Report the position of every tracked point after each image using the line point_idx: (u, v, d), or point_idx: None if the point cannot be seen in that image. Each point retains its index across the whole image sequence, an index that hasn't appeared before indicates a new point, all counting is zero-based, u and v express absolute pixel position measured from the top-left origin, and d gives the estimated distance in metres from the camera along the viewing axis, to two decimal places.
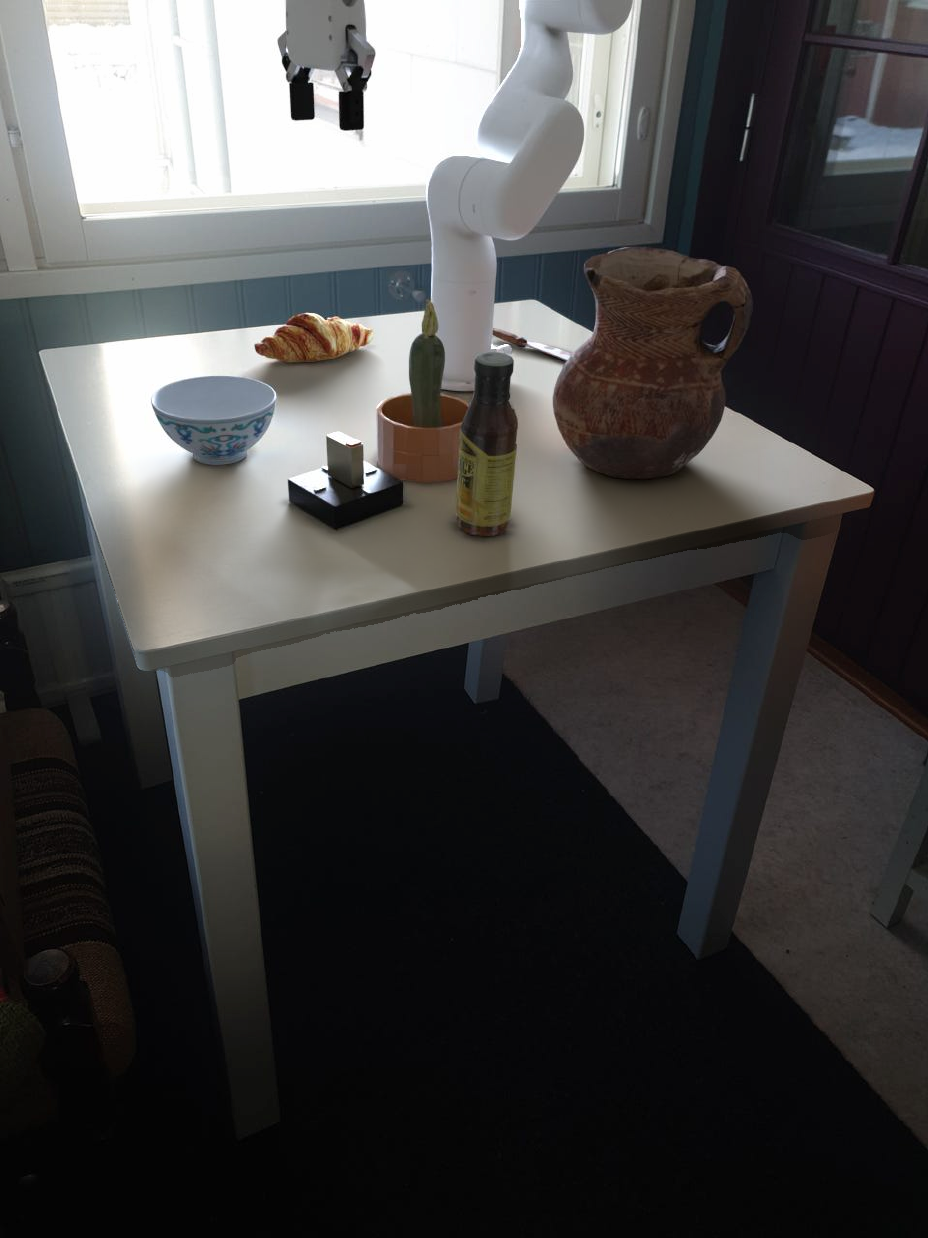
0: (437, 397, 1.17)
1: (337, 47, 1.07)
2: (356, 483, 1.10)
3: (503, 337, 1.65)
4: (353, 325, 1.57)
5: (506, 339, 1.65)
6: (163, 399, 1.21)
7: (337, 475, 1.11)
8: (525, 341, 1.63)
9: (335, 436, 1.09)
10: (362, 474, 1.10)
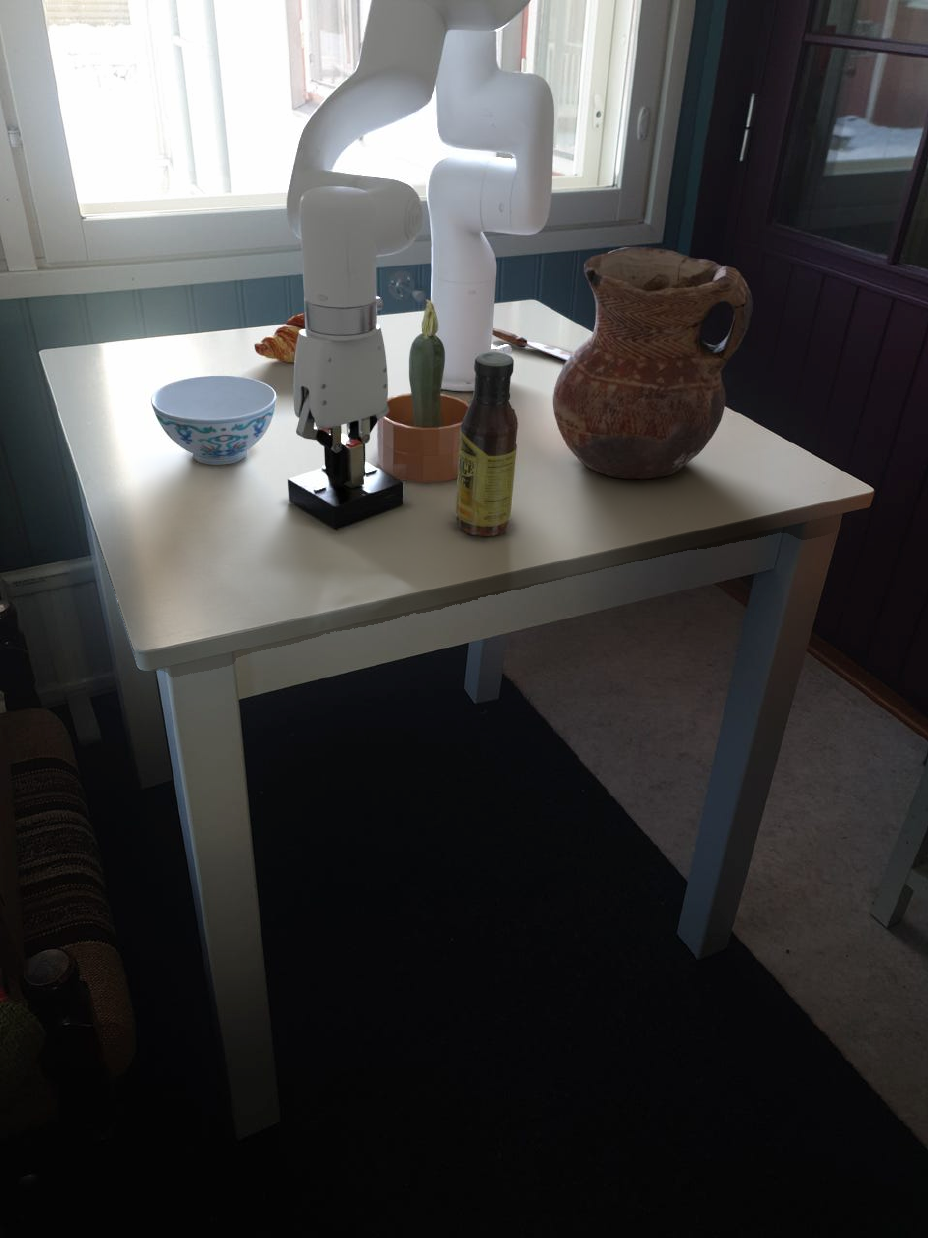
0: (437, 397, 1.17)
1: (387, 392, 1.08)
2: (356, 483, 1.10)
3: (503, 337, 1.65)
4: None
5: (506, 339, 1.65)
6: (163, 399, 1.21)
7: None
8: (525, 341, 1.63)
9: None
10: (362, 474, 1.10)
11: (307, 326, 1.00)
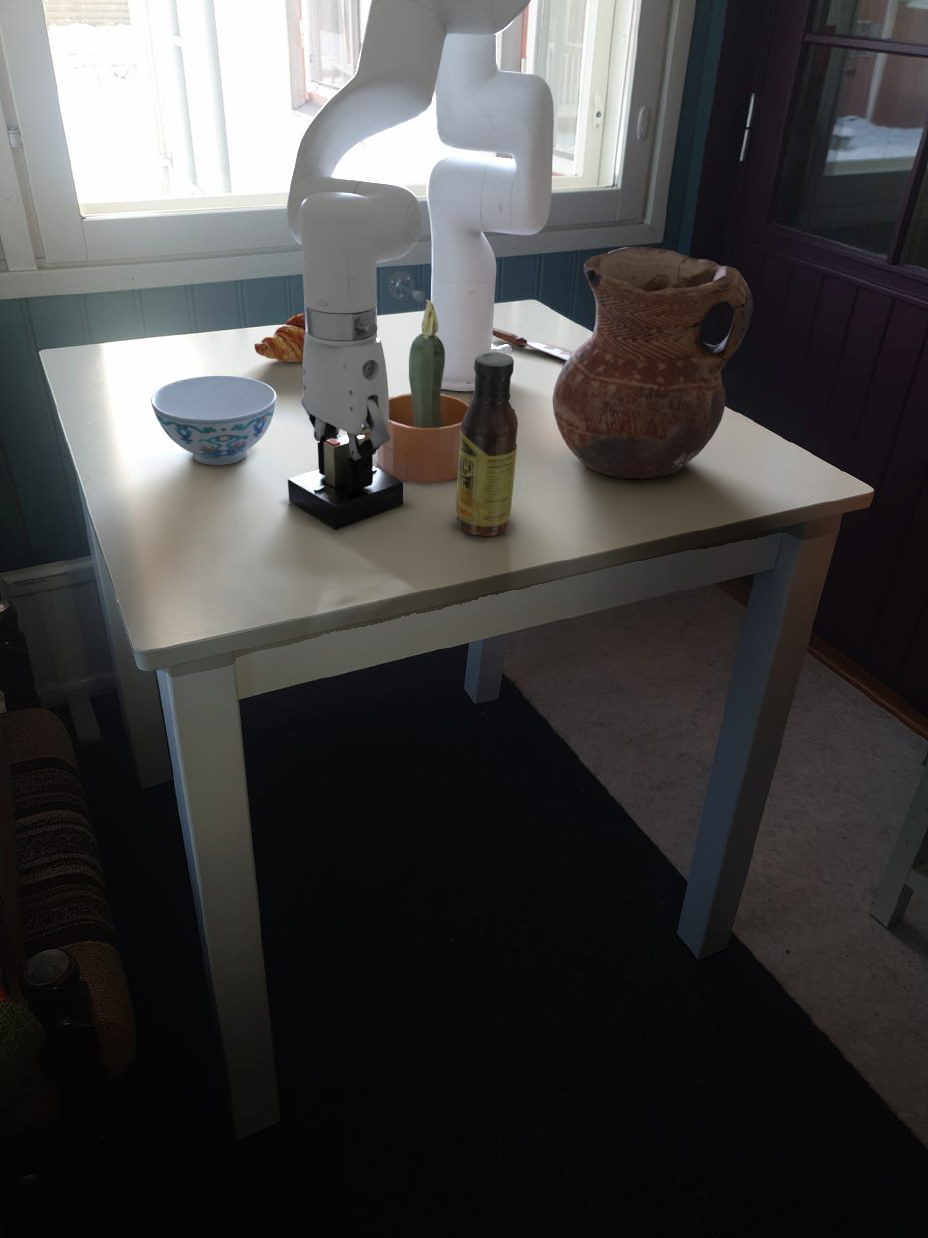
0: (437, 397, 1.17)
1: (358, 419, 1.02)
2: (328, 480, 1.10)
3: (503, 337, 1.65)
4: None
5: (506, 339, 1.65)
6: (163, 399, 1.21)
7: None
8: (525, 341, 1.63)
9: None
10: (333, 476, 1.09)
11: None
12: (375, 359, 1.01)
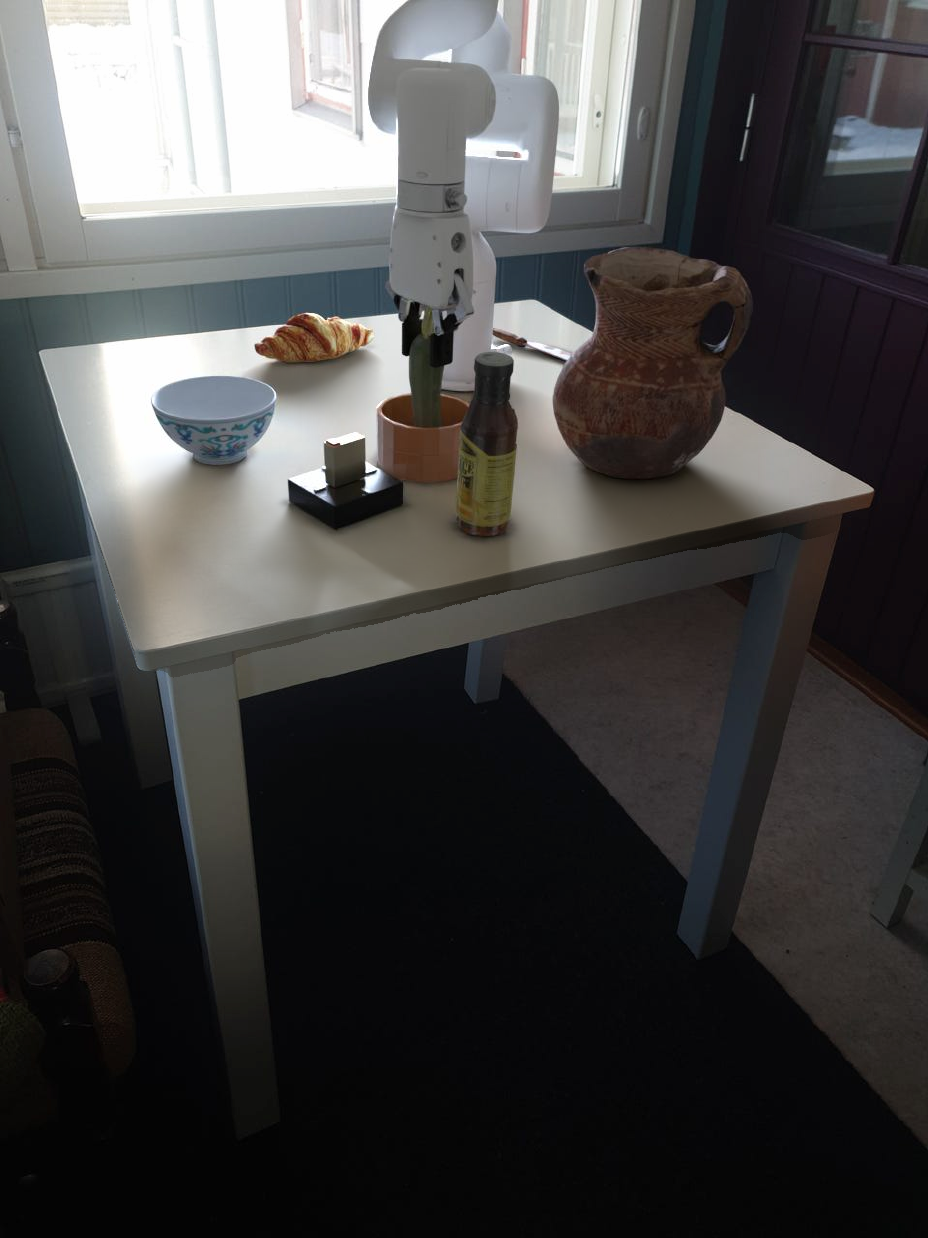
0: (437, 397, 1.17)
1: (445, 291, 1.07)
2: (328, 480, 1.10)
3: (503, 337, 1.65)
4: (353, 325, 1.57)
5: (506, 339, 1.65)
6: (163, 399, 1.21)
7: None
8: (525, 341, 1.63)
9: (351, 435, 1.10)
10: (333, 476, 1.09)
11: None
12: (463, 232, 1.05)
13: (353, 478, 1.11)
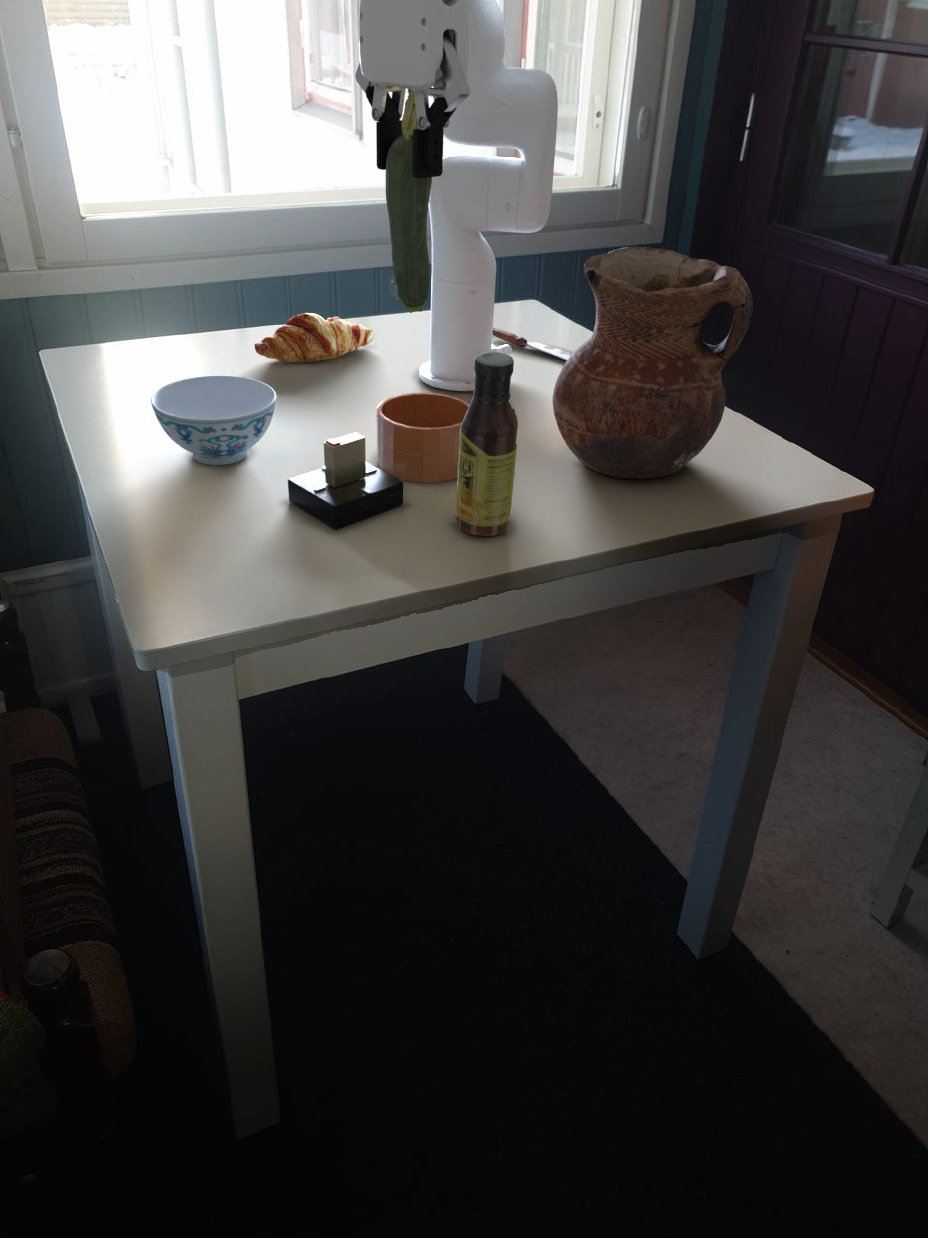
0: (422, 223, 0.91)
1: (431, 60, 0.80)
2: (328, 480, 1.10)
3: (503, 337, 1.65)
4: (353, 325, 1.57)
5: (506, 339, 1.65)
6: (163, 399, 1.21)
7: None
8: (525, 341, 1.63)
9: (351, 435, 1.10)
10: (333, 476, 1.09)
11: None
12: None
13: (353, 478, 1.11)
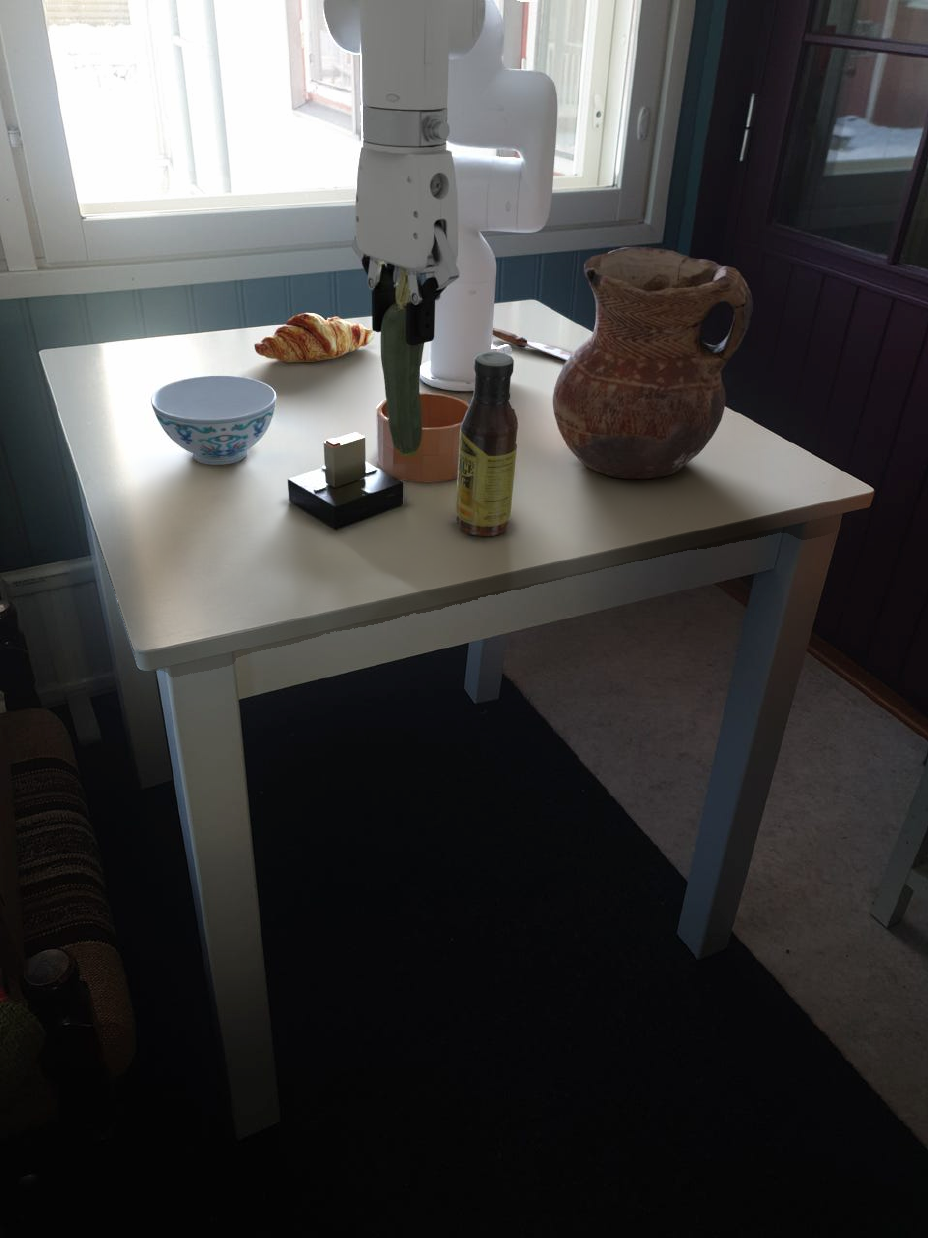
0: (415, 382, 0.96)
1: (423, 248, 0.86)
2: (328, 480, 1.10)
3: (503, 337, 1.65)
4: (353, 325, 1.57)
5: (506, 339, 1.65)
6: (163, 399, 1.21)
7: None
8: (525, 341, 1.63)
9: (351, 435, 1.10)
10: (333, 476, 1.09)
11: None
12: (445, 173, 0.84)
13: (353, 478, 1.11)
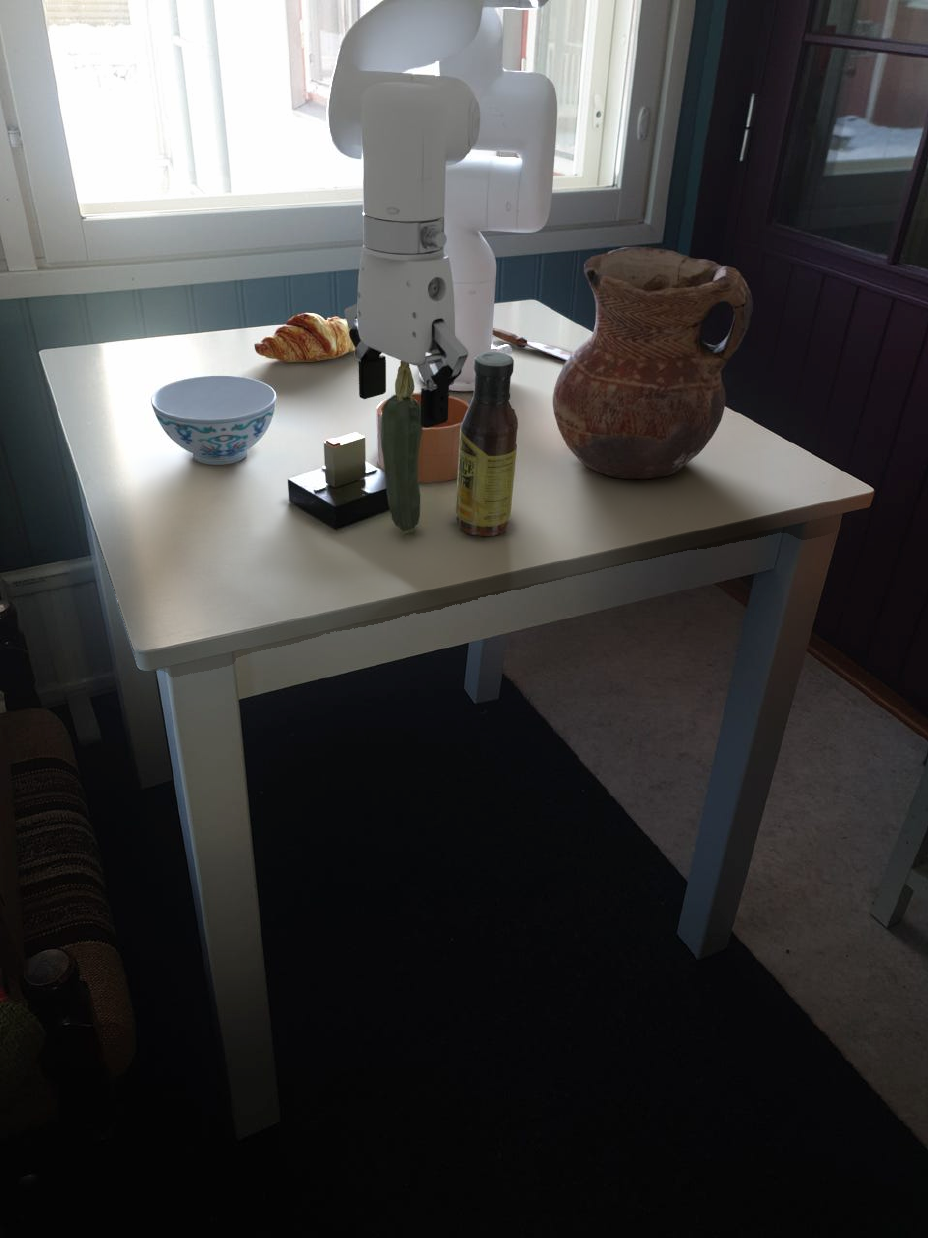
0: (414, 467, 1.01)
1: (421, 345, 0.91)
2: (328, 480, 1.10)
3: (503, 337, 1.65)
4: None
5: (506, 339, 1.65)
6: (163, 399, 1.21)
7: None
8: (525, 341, 1.63)
9: (351, 435, 1.10)
10: (333, 476, 1.09)
11: None
12: (442, 277, 0.89)
13: (353, 478, 1.11)
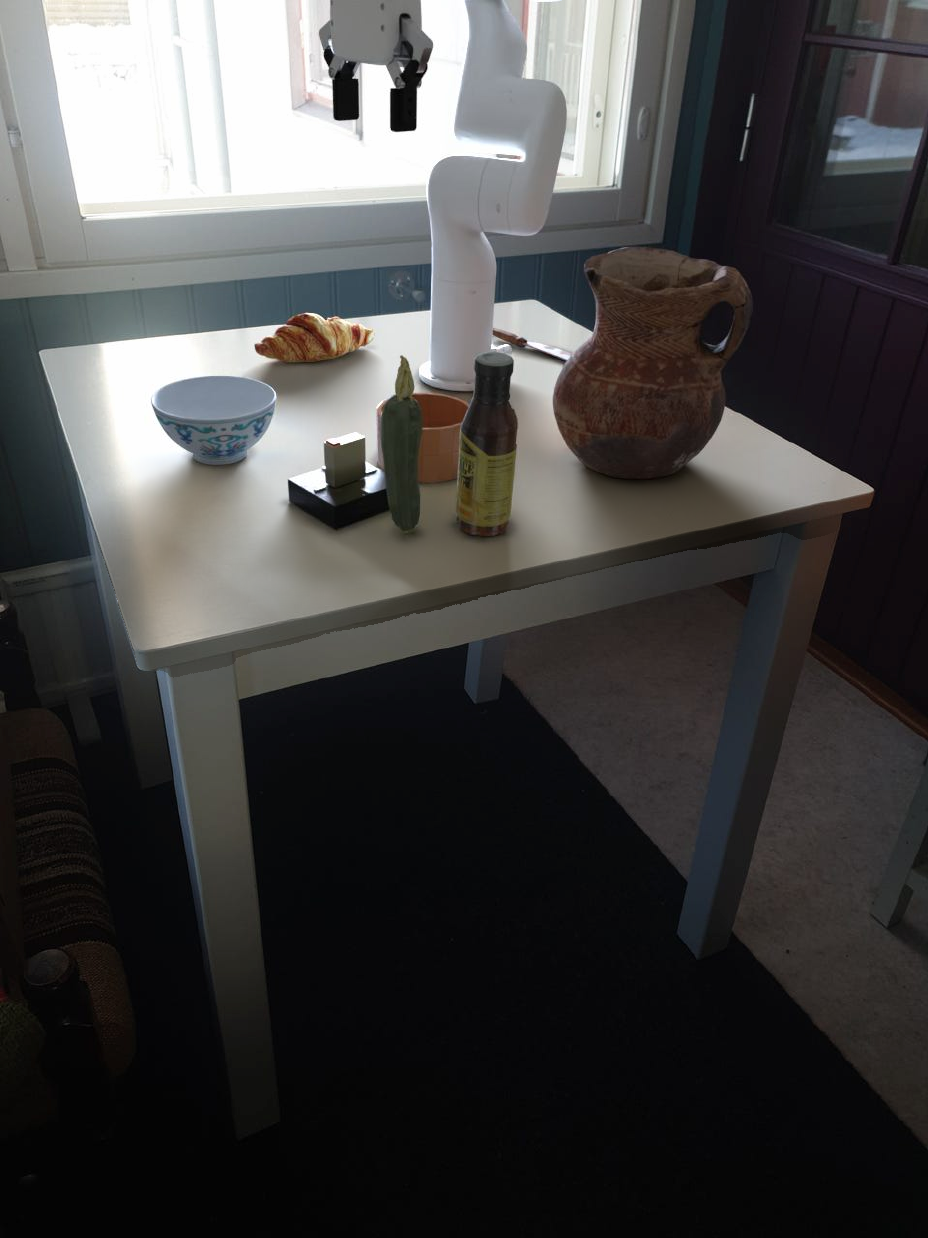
0: (414, 467, 1.01)
1: (389, 39, 0.96)
2: (328, 480, 1.10)
3: (503, 337, 1.65)
4: (353, 325, 1.57)
5: (506, 339, 1.65)
6: (163, 399, 1.21)
7: None
8: (525, 341, 1.63)
9: (351, 435, 1.10)
10: (333, 476, 1.09)
11: None
12: None
13: (353, 478, 1.11)
